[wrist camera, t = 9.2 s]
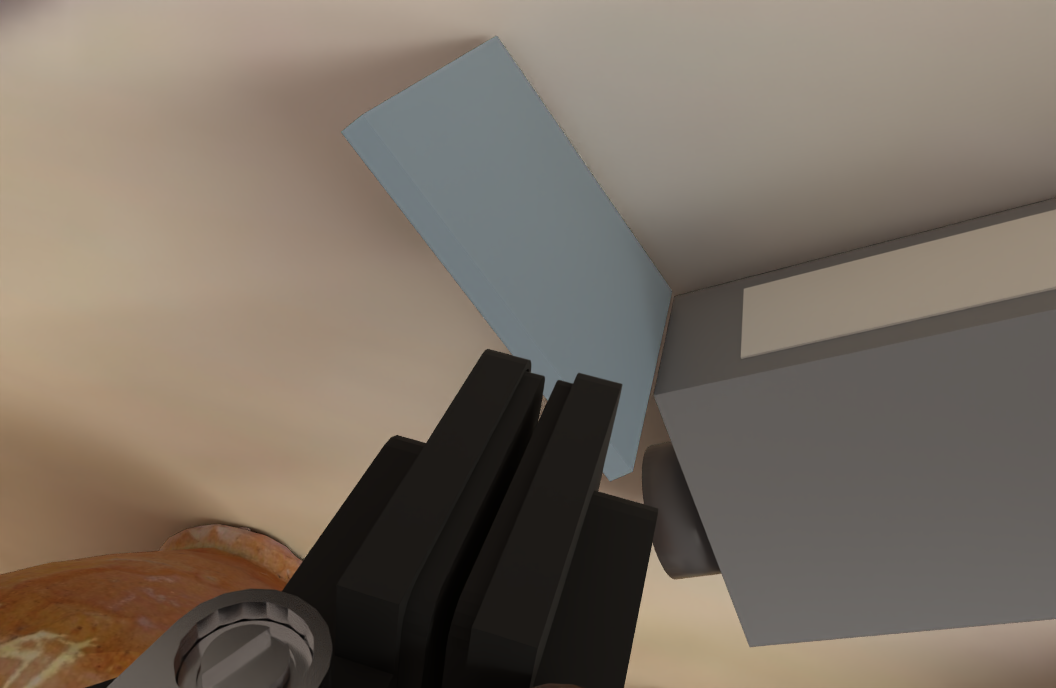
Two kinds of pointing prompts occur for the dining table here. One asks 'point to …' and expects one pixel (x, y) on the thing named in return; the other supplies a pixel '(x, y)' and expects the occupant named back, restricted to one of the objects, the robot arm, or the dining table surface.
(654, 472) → the box
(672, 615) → the dining table surface
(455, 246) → the side door
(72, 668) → the jug
